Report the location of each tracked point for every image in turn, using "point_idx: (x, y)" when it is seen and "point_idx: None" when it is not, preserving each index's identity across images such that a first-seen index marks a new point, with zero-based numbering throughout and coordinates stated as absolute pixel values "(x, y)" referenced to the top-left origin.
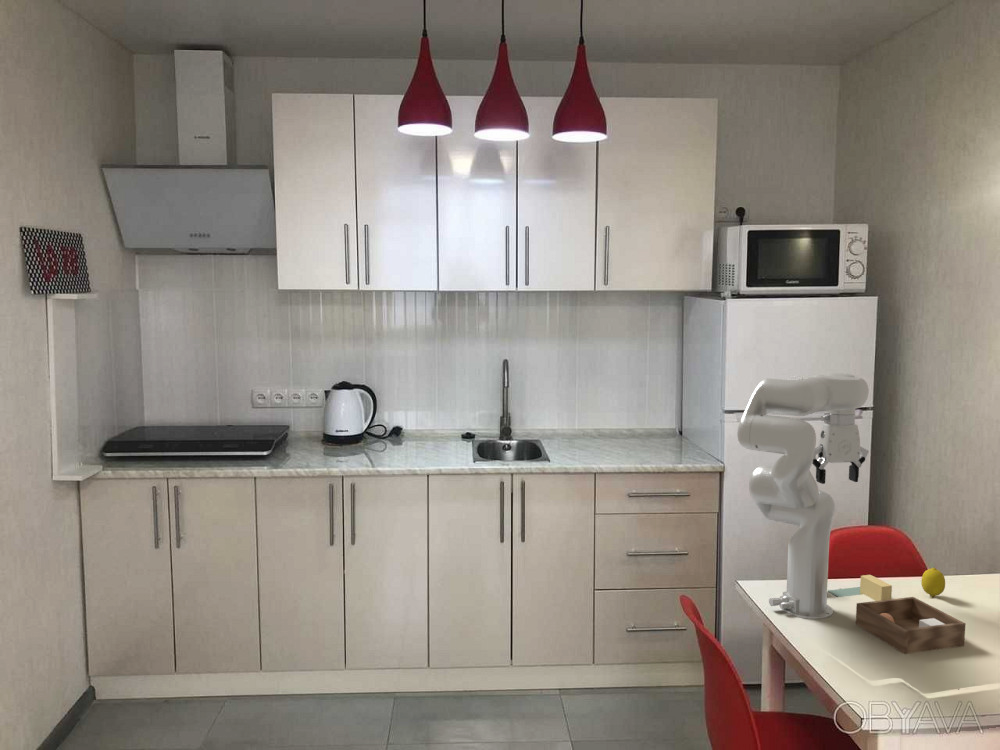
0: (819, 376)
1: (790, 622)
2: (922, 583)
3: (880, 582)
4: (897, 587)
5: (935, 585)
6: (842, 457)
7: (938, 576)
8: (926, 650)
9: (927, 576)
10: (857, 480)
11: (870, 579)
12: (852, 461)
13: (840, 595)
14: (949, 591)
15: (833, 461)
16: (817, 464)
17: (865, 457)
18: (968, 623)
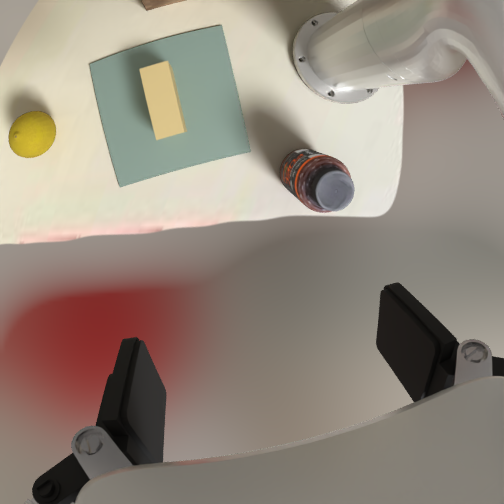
0: None
1: None
2: (52, 131)
3: (156, 87)
4: (89, 180)
5: (37, 111)
6: (366, 481)
7: (21, 117)
8: None
9: (39, 123)
10: (124, 342)
11: (171, 106)
12: (178, 462)
13: (235, 122)
14: (11, 167)
15: (461, 391)
16: (500, 367)
17: (31, 500)
18: (55, 15)
